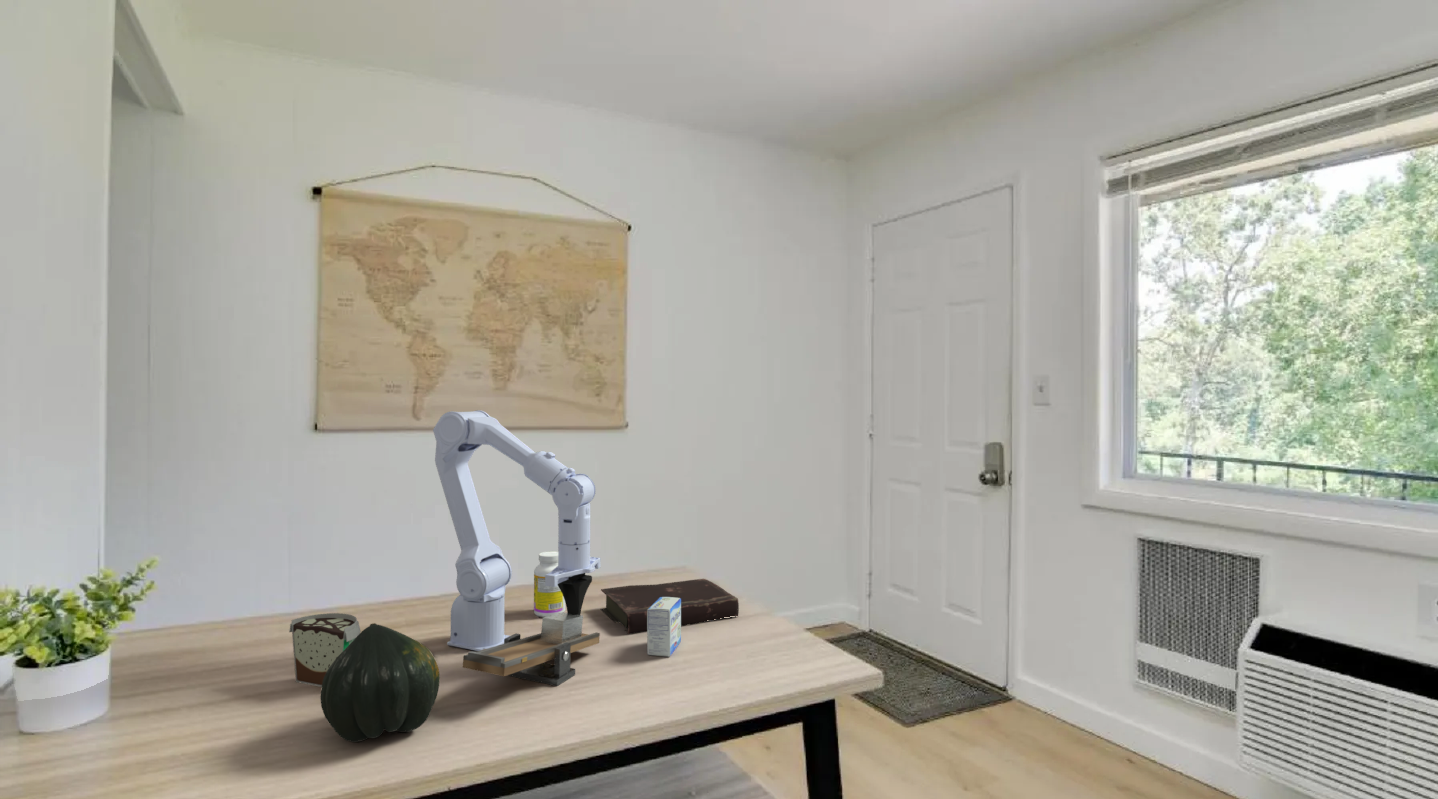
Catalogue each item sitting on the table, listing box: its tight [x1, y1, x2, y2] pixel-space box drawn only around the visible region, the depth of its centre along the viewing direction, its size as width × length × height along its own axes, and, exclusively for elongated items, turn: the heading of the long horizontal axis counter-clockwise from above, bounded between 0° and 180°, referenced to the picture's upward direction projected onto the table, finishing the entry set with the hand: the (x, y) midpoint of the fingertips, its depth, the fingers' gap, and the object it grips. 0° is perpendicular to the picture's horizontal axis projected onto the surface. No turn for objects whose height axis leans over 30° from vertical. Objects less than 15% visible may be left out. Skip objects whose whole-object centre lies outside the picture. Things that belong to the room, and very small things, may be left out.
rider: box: [540, 612, 584, 644], centre depth 124 cm, size 4×6×4 cm
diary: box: [600, 578, 740, 635], centre depth 152 cm, size 19×25×5 cm
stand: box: [504, 633, 576, 687], centre depth 118 cm, size 12×5×6 cm, turn 67°
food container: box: [288, 612, 362, 688], centre depth 115 cm, size 12×6×10 cm, turn 71°
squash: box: [319, 622, 441, 743], centre depth 99 cm, size 14×15×15 cm
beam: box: [462, 631, 601, 677], centre depth 118 cm, size 8×26×2 cm, turn 157°
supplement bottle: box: [533, 550, 567, 618], centre depth 150 cm, size 7×7×13 cm
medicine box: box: [646, 597, 682, 658], centre depth 130 cm, size 8×4×9 cm, turn 168°
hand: (573, 616), depth 128 cm, fingers closed
